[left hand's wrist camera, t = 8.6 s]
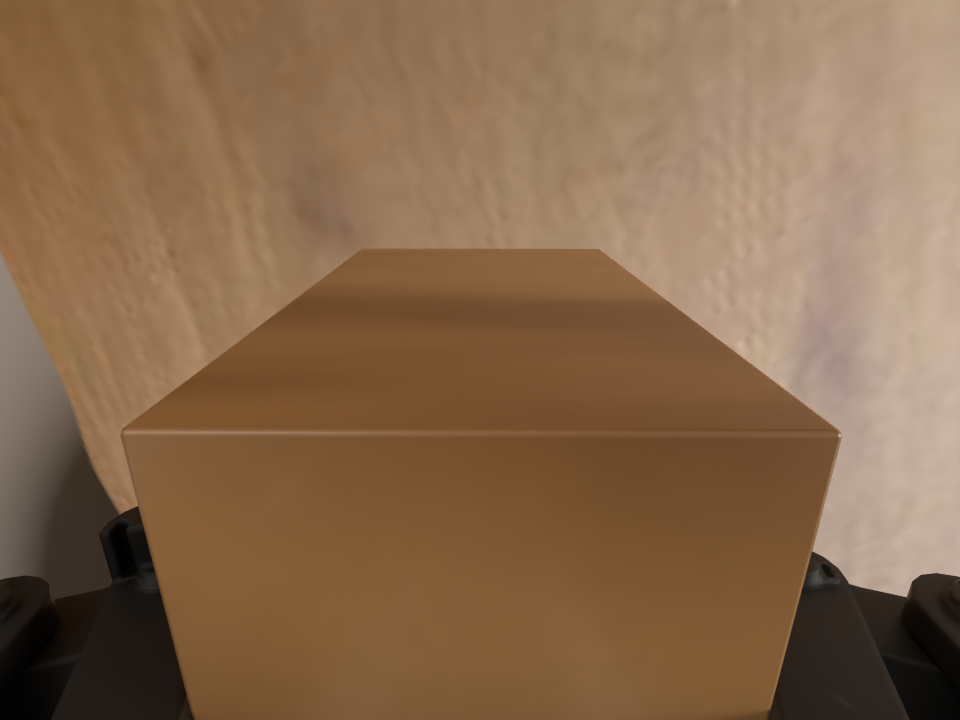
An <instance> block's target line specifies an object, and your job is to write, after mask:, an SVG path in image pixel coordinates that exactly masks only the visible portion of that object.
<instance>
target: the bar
mask: <svg viewBox="0 0 960 720" xmlns="http://www.w3.org/2000/svg"><path fill="white" fill-rule="evenodd" d="M841 439H842V436H841V432H840V431H839V430H838V429H837V428H835V427H834V426H833V425H831V424H830V423H829V422H827V421H826V420H825V419H823V418H822V417H821V416H820V415H818V414H817V413H816V412H814V411H813V410H812V409H810V408H809V407H808V406H806V405H805V404H804V403H802V402H801V401H800V400H798V399H797V398H796V397H794V396H793V395H792V394H790V393H789V392H788V391H786V390H785V389H784V388H782V387H781V386H780V385H778V384H777V383H776V382H774V381H773V380H772V379H770V378H769V377H768V376H766V375H765V374H764V373H762V372H761V371H760V370H758V369H757V368H756V367H754V366H753V365H752V364H751V363H749V362H748V361H747V360H745V359H744V358H743V357H741V356H740V355H739V354H737V353H736V352H735V351H733V350H732V349H731V348H729V347H728V346H727V345H725V344H724V343H723V342H721V341H720V340H719V339H717V338H716V337H715V336H713V335H712V334H711V333H709V332H708V331H707V330H705V329H704V328H703V327H701V326H700V325H699V324H697V323H696V322H695V321H693V320H692V319H691V318H689V317H688V316H687V315H685V314H684V313H683V312H681V311H680V310H679V309H678V308H676V307H675V306H674V305H672V304H671V303H670V302H668V301H667V300H666V299H664V298H663V297H662V296H660V295H659V294H658V293H656V292H655V291H654V290H652V289H651V288H650V287H648V286H647V285H646V284H644V283H643V282H642V281H640V280H639V279H638V278H636V277H635V276H634V275H632V274H631V273H630V272H628V271H627V270H626V269H624V268H623V267H622V266H620V265H619V264H618V263H616V262H615V261H614V260H612V259H611V258H610V257H609V256H607V255H606V254H605V253H603V252H602V251H601V250H599V249H362V250H360V251H359V252H358V253H356V254H355V255H354V256H352V257H351V258H350V259H348V260H347V261H346V262H344V263H343V264H342V265H340V266H339V267H338V268H336V269H335V270H334V271H332V272H331V273H330V274H328V275H327V276H326V277H324V278H323V279H322V280H320V281H319V282H318V283H316V284H315V285H314V286H312V287H311V288H310V289H308V290H307V291H306V292H304V293H303V294H302V295H300V296H299V297H298V298H296V299H295V300H294V301H292V302H291V303H290V304H288V305H287V306H286V307H284V308H283V309H282V310H280V311H279V312H278V313H276V314H275V315H274V316H272V317H271V318H270V319H268V320H267V321H266V322H264V323H263V324H262V325H260V326H259V327H258V328H256V329H255V330H254V331H252V332H251V333H250V334H248V335H247V336H246V337H244V338H243V339H242V340H240V341H239V342H238V343H236V344H235V345H234V346H232V347H231V348H230V349H228V350H227V351H226V352H224V353H223V354H222V355H220V356H219V357H218V358H216V359H215V360H214V361H212V362H211V363H210V364H209V365H207V366H206V367H205V368H203V369H202V370H201V371H199V372H198V373H197V374H195V375H194V376H193V377H191V378H190V379H189V380H187V381H186V382H185V383H183V384H182V385H181V386H179V387H178V388H177V389H175V390H174V391H173V392H171V393H170V394H169V395H167V396H166V397H165V398H163V399H162V400H161V401H159V402H158V403H157V404H155V405H154V406H153V407H151V408H150V409H149V410H147V411H146V412H145V413H143V414H142V415H141V416H139V417H138V418H137V419H135V420H134V421H133V422H131V423H130V424H129V425H127V426H126V427H125V428H123V429H122V431H121V440H122V444H123V448H124V451H125V455H126V459H127V463H128V467H129V471H130V475H131V479H132V483H133V487H134V491H135V494H136V498H137V502H138V506H139V510H140V514H141V518H142V522H143V526H144V530H145V534H146V538H147V541H148V545H149V549H150V553H151V557H152V561H153V565H154V569H155V573H156V577H157V581H158V585H159V588H160V592H161V596H162V600H163V604H164V608H165V612H166V616H167V620H168V624H169V628H170V631H171V635H172V639H173V643H174V647H175V651H176V655H177V659H178V663H179V667H180V671H181V675H182V678H183V682H184V686H185V690H186V694H187V698H188V702H189V706H190V710H191V714H192V718H193V720H768V717H769V713H770V709H771V706H772V702H773V698H774V694H775V690H776V687H777V683H778V679H779V675H780V671H781V667H782V664H783V660H784V656H785V652H786V648H787V645H788V641H789V637H790V633H791V629H792V625H793V622H794V618H795V614H796V610H797V606H798V603H799V599H800V595H801V591H802V587H803V584H804V580H805V576H806V572H807V568H808V564H809V561H810V557H811V553H812V549H813V545H814V542H815V538H816V534H817V530H818V526H819V523H820V519H821V515H822V511H823V507H824V503H825V500H826V496H827V492H828V488H829V484H830V481H831V477H832V473H833V469H834V465H835V461H836V458H837V454H838V450H839V446H840V442H841Z"/></svg>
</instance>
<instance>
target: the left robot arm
mask: <svg viewBox="0 0 960 720" xmlns="http://www.w3.org/2000/svg"><path fill="white" fill-rule="evenodd" d="M99 536H100V539H101V543H102V547H103V550H104V553H105V557H106V560H107V563H108V567H109V570H110V574H111V577H112V581H113V582H112V584H111V587H108V588H105V589H101V590H97V591H92V592H88V593H83V594H78V595H74V596H69V597H64V598H60V599H55V600H54V597H53V594H52V591H51V588H50V585H49V583H47V582H46V581H45V580H43V579H42V578H41V577H33V576H19V577H13V578H6V579H2V580H0V720H193V718H192V714H191V710H190V706H189V702H188V698H187V694H186V690H185V686H184V682H183V678H182V675H181V671H180V667H179V663H178V659H177V655H176V651H175V647H174V643H173V639H172V635H171V631H170V628H169V624H168V620H167V616H166V612H165V608H164V604H163V600H162V596H161V592H160V588H159V585H158V581H157V577H156V573H155V569H154V565H153V561H152V557H151V553H150V549H149V545H148V541H147V538H146V534H145V530H144V526H143V522H142V518H141V514H140V510H139V506H137V507H135V508H133V509H130V510H128V511H126V512H124V513H122V514H121V515H119V516H118V517H116V518H115V519H113V520H112V521H110V522H109V523H108V524H107V525H106V526H105V527H104V529H103V530H102V531H101V532H100V533H99ZM768 720H960V577H957V576H951V575H945V574H938V573H934V574H925V575H920V576H919V577H918V578H916V579H915V580H914V581H912V584H911V587H910V590H909V593H908V595H907V597H902V596H898V595H893V594H889V593H884V592H879V591H875V590H870V589H866V588H861V587H857V586H854V585H850V584H849V583H848V581H847V580H846V578H845V577H844V576H843V574H842V573H841V571H840V570H839V569H838V568H837V567H836V566H835V565H833V564H832V563H831V562H829V561H828V560H827V559H825V558H824V557H823V556H821V555H818V554H816V553H814V552H812V553H811V557H810V561H809V564H808V568H807V572H806V576H805V580H804V584H803V587H802V591H801V595H800V599H799V603H798V606H797V610H796V614H795V618H794V622H793V625H792V629H791V633H790V637H789V641H788V645H787V648H786V652H785V656H784V660H783V664H782V667H781V671H780V675H779V679H778V683H777V687H776V690H775V694H774V698H773V702H772V706H771V709H770V713H769V717H768Z"/></svg>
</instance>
